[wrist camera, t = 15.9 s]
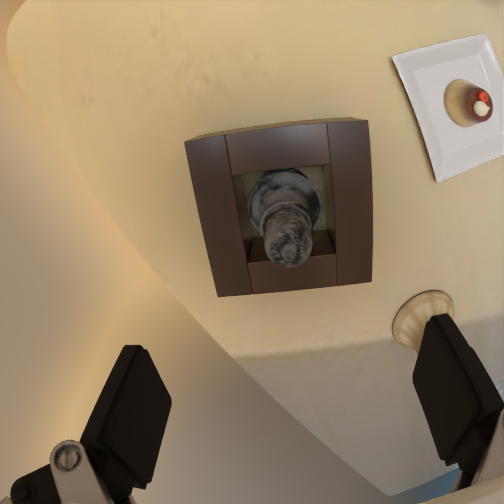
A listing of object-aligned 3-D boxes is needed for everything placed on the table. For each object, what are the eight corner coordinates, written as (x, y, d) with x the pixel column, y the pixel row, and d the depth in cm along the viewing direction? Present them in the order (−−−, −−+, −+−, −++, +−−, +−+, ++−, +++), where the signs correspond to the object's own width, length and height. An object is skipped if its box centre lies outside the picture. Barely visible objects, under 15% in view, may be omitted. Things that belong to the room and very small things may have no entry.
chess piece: (236, 196, 28) (211, 259, 17) (283, 149, 26) (290, 182, 15) (283, 239, 29) (287, 321, 19) (330, 196, 27) (365, 259, 17)
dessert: (481, 34, 18) (509, 29, 14) (515, 144, 23) (543, 154, 18) (387, 57, 21) (408, 50, 17) (432, 180, 26) (456, 195, 21)
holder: (225, 269, 31) (217, 297, 27) (199, 135, 26) (183, 141, 21) (358, 255, 30) (371, 282, 25) (351, 117, 24) (368, 120, 20)
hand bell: (433, 348, 35) (477, 448, 20) (380, 342, 34) (416, 458, 20) (464, 295, 31) (530, 393, 17) (410, 284, 31) (473, 399, 16)
